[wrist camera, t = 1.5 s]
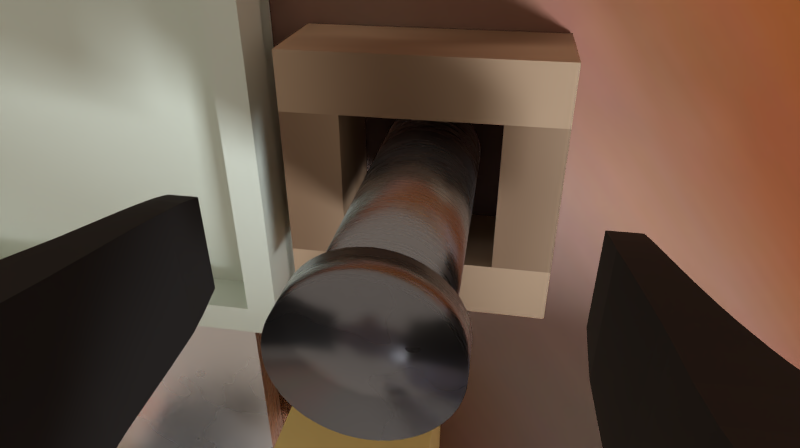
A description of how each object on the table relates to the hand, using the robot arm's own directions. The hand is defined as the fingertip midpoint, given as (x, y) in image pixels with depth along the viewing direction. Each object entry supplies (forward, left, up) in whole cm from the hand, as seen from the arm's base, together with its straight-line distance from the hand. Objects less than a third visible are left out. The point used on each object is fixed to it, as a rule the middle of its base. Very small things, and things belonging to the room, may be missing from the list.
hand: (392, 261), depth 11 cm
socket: (0, 0, -5) cm, 5 cm away
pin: (0, 0, -5) cm, 5 cm away
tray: (+9, 0, -5) cm, 11 cm away
